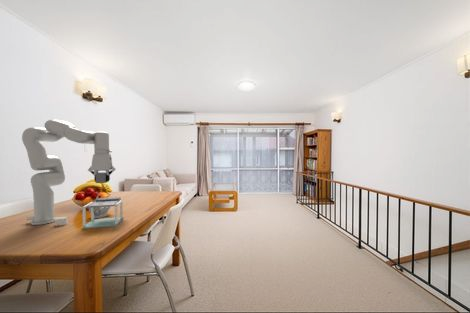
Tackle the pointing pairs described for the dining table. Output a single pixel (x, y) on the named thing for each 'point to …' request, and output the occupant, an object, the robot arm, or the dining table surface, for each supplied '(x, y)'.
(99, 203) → the trapdoor
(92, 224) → the frame
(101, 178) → the basalt stone
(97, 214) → the crystal
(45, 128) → the robot arm
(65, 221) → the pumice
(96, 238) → the dining table surface
